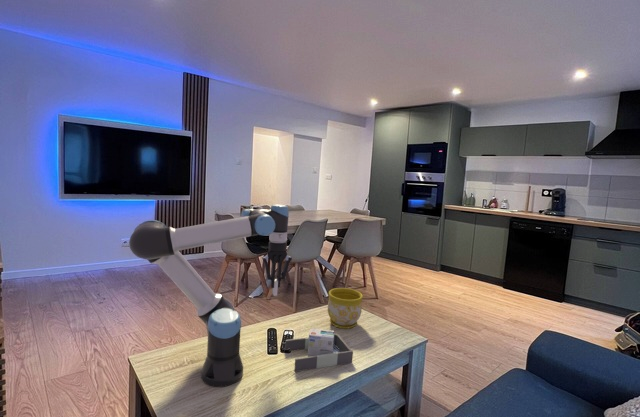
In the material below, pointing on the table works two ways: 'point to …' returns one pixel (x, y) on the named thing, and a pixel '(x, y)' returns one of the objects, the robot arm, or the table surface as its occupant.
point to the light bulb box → (320, 342)
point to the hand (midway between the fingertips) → (274, 294)
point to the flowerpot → (344, 307)
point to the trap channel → (320, 360)
